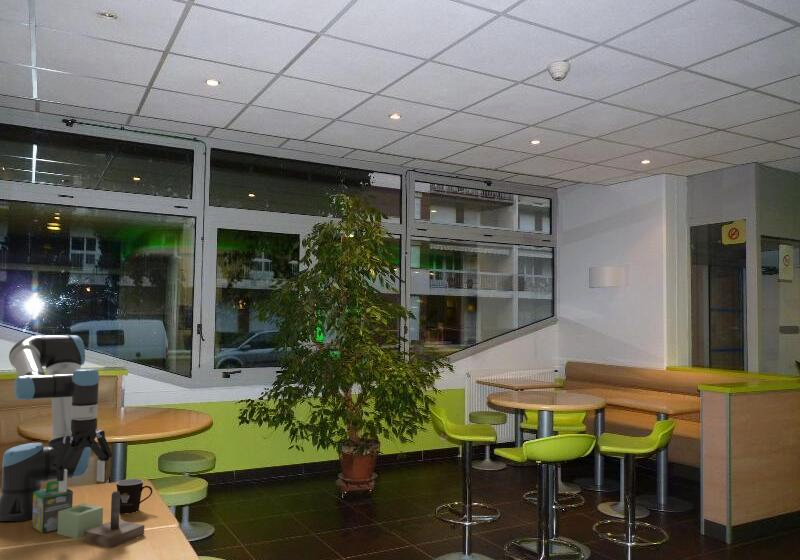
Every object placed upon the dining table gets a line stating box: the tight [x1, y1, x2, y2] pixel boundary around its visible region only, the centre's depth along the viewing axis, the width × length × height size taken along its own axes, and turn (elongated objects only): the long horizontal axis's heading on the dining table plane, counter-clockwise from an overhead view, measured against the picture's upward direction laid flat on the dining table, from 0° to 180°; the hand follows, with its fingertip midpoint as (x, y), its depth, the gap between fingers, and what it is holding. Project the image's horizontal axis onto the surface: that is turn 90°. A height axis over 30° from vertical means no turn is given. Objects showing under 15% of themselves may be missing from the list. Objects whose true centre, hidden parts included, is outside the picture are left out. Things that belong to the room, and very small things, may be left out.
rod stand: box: [83, 490, 145, 548], centre depth 195 cm, size 12×12×14 cm
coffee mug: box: [116, 478, 153, 515], centre depth 221 cm, size 12×9×10 cm
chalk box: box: [31, 480, 74, 534], centre depth 205 cm, size 9×9×15 cm
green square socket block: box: [57, 503, 104, 540], centre depth 200 cm, size 9×9×7 cm
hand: (82, 486), depth 201 cm, fingers open, 13 cm apart
